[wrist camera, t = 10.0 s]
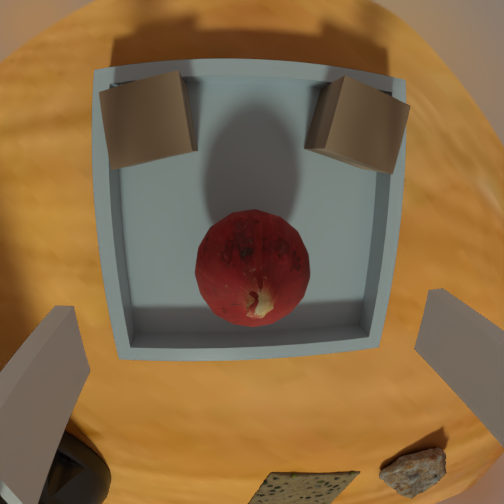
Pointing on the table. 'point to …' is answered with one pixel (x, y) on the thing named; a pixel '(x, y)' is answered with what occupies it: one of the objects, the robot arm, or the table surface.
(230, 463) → the table surface
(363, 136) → the walnut cube
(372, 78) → the dish
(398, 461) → the rock
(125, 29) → the table surface
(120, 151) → the walnut cube
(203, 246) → the onion
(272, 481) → the speckled stone tile
